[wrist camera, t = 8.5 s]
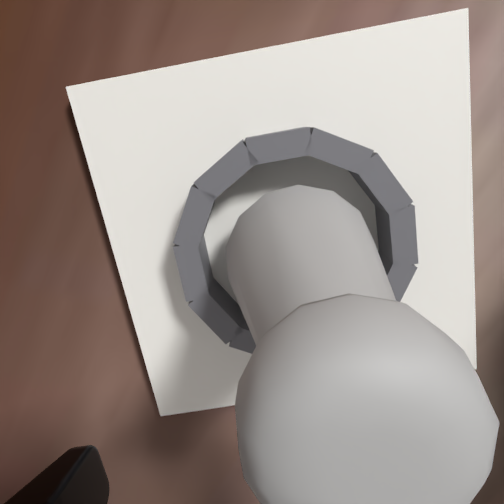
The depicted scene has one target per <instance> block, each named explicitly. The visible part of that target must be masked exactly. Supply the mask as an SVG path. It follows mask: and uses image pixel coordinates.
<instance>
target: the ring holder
mask: <svg viewBox="0 0 504 504" xmlns="http://www.w3.org/2000/svg"><path fill="white" fill-rule="evenodd" d="M66 90H67V93H68V97H69V100H70V104H71V107H72V111H73V114H74V118H75V121H76V125H77V128H78V132H79V135H80V139H81V142H82V146H83V149H84V152H85V156H86V159H87V163H88V166H89V170H90V173H91V177H92V180H93V184H94V187H95V191H96V194H97V198H98V201H99V205H100V208H101V211H102V215H103V218H104V222H105V225H106V229H107V232H108V236H109V239H110V243H111V246H112V250H113V253H114V257H115V260H116V264H117V267H118V270H119V274H120V277H121V281H122V284H123V288H124V291H125V295H126V298H127V302H128V305H129V309H130V312H131V316H132V319H133V323H134V326H135V329H136V333H137V336H138V340H139V343H140V347H141V350H142V354H143V357H144V361H145V364H146V368H147V371H148V375H149V378H150V382H151V385H152V388H153V392H154V395H155V399H156V402H157V406H158V409H159V413H160V416H166V415H173V414H180V413H186V412H193V411H200V410H206V409H213V408H220V407H226V406H233V405H235V400H236V394H237V388H238V382H239V380H240V378H241V376H242V374H243V372H244V370H245V368H246V366H247V364H248V362H249V360H250V358H251V356H252V354H253V352H254V350H255V348H256V344H255V341H254V339H253V337H252V334H251V332H250V330H249V327H248V325H247V322H246V320H245V318H244V315H243V313H242V311H241V308H240V306H239V303H238V301H237V299H236V296H235V294H234V292H233V289H232V287H231V284H230V282H229V280H228V273H227V261H226V249H225V247H226V244H227V242H228V240H229V238H230V235H231V233H232V231H233V229H234V226H235V224H236V222H237V220H238V217H239V216H240V215H241V214H242V213H243V212H245V211H246V210H247V209H248V208H249V207H250V206H251V205H253V204H254V203H255V202H256V201H257V200H258V199H259V198H261V197H262V196H263V195H264V194H265V193H269V192H272V191H276V190H280V189H283V188H287V187H291V186H294V185H303V186H309V187H314V188H320V189H325V190H331V191H334V192H335V193H337V194H338V195H339V196H340V197H342V198H343V199H344V200H346V201H347V202H348V203H350V204H351V205H352V206H354V207H355V208H356V209H358V210H359V211H360V213H361V215H362V217H363V219H364V221H365V223H366V225H367V227H368V229H369V231H370V234H371V236H372V238H373V240H374V242H375V245H376V248H377V250H378V253H379V256H380V258H381V261H382V264H383V266H384V269H385V272H386V275H387V277H388V280H389V283H390V285H391V288H392V291H393V293H394V296H395V299H396V301H399V302H402V303H406V304H407V305H409V306H410V307H411V308H413V309H414V310H415V311H417V312H418V313H419V314H421V315H422V316H423V317H425V318H426V319H427V320H429V321H430V322H431V323H433V324H434V325H435V326H437V327H438V328H439V329H441V330H442V331H443V332H445V333H446V334H447V335H448V336H449V337H450V338H451V339H452V340H453V341H454V342H455V343H457V344H458V345H459V346H460V347H461V348H462V349H463V350H464V351H465V353H466V355H467V357H468V358H469V360H470V362H471V364H472V366H473V367H474V369H477V363H476V320H475V277H474V235H473V192H472V149H471V107H470V64H469V21H468V8H465V9H460V10H455V11H450V12H445V13H440V14H435V15H430V16H425V17H420V18H414V19H409V20H404V21H399V22H394V23H389V24H384V25H379V26H374V27H369V28H364V29H358V30H353V31H348V32H343V33H338V34H333V35H328V36H323V37H318V38H313V39H307V40H302V41H297V42H292V43H287V44H282V45H277V46H272V47H267V48H262V49H257V50H251V51H246V52H241V53H236V54H231V55H226V56H221V57H216V58H211V59H206V60H200V61H195V62H190V63H185V64H180V65H175V66H170V67H165V68H160V69H155V70H150V71H144V72H139V73H134V74H129V75H124V76H119V77H114V78H109V79H104V80H99V81H93V82H88V83H83V84H78V85H73V86H68V87H66Z"/></svg>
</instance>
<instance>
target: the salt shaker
mask: <svg viewBox="0 0 504 504" xmlns="http://www.w3.org/2000/svg"><path fill="white" fill-rule="evenodd" d="M225 249H226V261H227V273H228V280H229V282H230V284H231V287H232V289H233V292H234V294H235V296H236V299H237V301H238V303H239V306H240V308H241V311H242V313H243V315H244V318H245V320H246V322H247V325H248V327H249V330H250V332H251V334H252V337H253V339H254V341H255V344H256V348H255V350H254V352H253V354H252V356H251V358H250V360H249V362H248V364H247V366H246V368H245V370H244V372H243V374H242V376H241V378H240V380H239V382H238V388H237V394H236V400H235V412H236V424H237V437H238V449H239V455H240V460H241V466H242V471H243V477H244V479H245V481H246V482H247V484H248V485H249V487H250V488H251V490H252V491H253V493H254V494H255V496H256V497H257V499H258V500H259V502H260V503H261V504H470V503H471V501H472V500H473V499H474V497H475V496H476V494H477V493H478V492H479V490H480V489H481V488H482V486H483V485H484V483H485V481H486V479H487V478H488V476H489V474H490V472H491V470H492V464H493V458H494V452H495V446H496V440H497V434H498V429H499V421H498V418H497V416H496V414H495V412H494V409H493V407H492V405H491V403H490V401H489V398H488V396H487V394H486V392H485V390H484V387H483V385H482V383H481V381H480V379H479V377H478V375H477V373H476V371H475V369H474V367H473V366H472V364H471V362H470V360H469V358H468V357H467V355H466V353H465V351H464V350H463V349H462V348H461V347H460V346H459V345H458V344H457V343H455V342H454V341H453V340H452V339H451V338H450V337H449V336H448V335H447V334H446V333H445V332H443V331H442V330H441V329H439V328H438V327H437V326H435V325H434V324H433V323H431V322H430V321H429V320H427V319H426V318H425V317H423V316H422V315H421V314H419V313H418V312H417V311H415V310H414V309H413V308H411V307H410V306H409V305H407V304H406V303H402V302H399V301H396V299H395V296H394V293H393V291H392V288H391V285H390V283H389V280H388V277H387V275H386V272H385V269H384V266H383V264H382V261H381V258H380V256H379V253H378V250H377V248H376V245H375V242H374V240H373V238H372V236H371V234H370V231H369V229H368V227H367V225H366V223H365V221H364V219H363V217H362V215H361V213H360V211H359V210H358V209H356V208H355V207H354V206H352V205H351V204H350V203H348V202H347V201H346V200H344V199H343V198H342V197H340V196H339V195H338V194H337V193H335V192H334V191H331V190H325V189H320V188H314V187H309V186H303V185H294V186H291V187H287V188H283V189H280V190H276V191H272V192H269V193H265V194H264V195H263V196H262V197H261V198H259V199H258V200H257V201H256V202H255V203H254V204H253V205H251V206H250V207H249V208H248V209H247V210H246V211H245V212H243V213H242V214H241V215H240V216H239V217H238V220H237V222H236V224H235V226H234V229H233V231H232V233H231V235H230V238H229V240H228V242H227V244H226V247H225Z"/></svg>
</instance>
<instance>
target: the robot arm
mask: <svg viewBox="0 0 504 504" xmlns="http://www.w3.org/2000/svg"><path fill="white" fill-rule="evenodd" d="M108 497H109V481H108V478H107V475H106V472H105V469H104V466H103V463H102V461H101V458H100V455H99V452H98V450H97V448H96V447H95V446H92V445H87V446H81V447H74V448H71V449H69V450H68V451H67V452H65V453H64V454H63V455H62V456H61V457H59V458H58V459H57V460H56V461H55V462H53V463H52V464H51V465H50V466H49V467H47V468H46V469H45V470H44V471H43V472H41V473H40V474H39V475H38V476H37V477H35V478H34V479H33V480H32V481H31V482H30V483H28V484H27V485H26V486H25V487H24V488H22V489H21V490H20V491H19V492H18V493H16V494H15V495H14V496H13V497H12V498H10V499H9V500H8V501H7V502H6V503H4V504H107V502H108Z"/></svg>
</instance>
